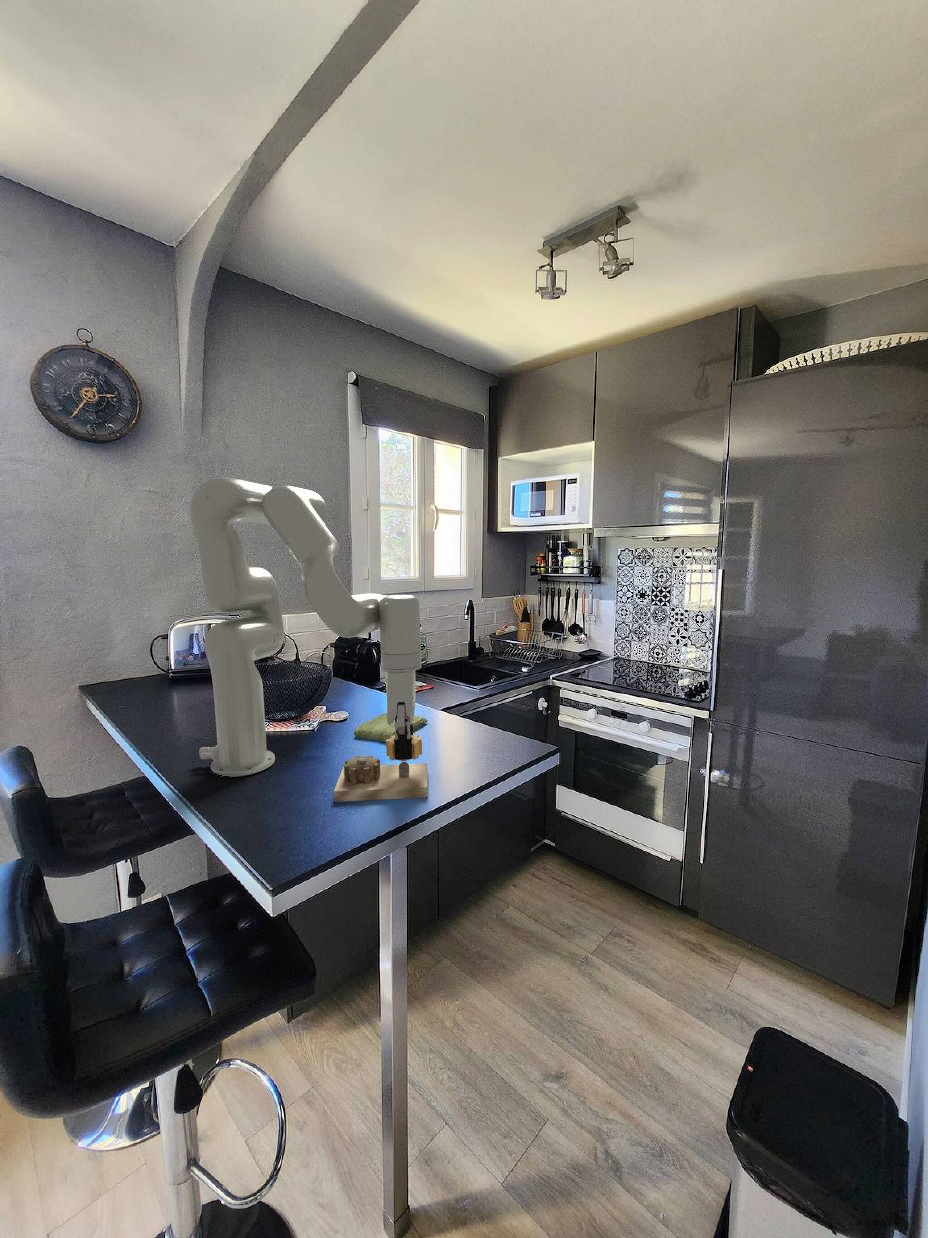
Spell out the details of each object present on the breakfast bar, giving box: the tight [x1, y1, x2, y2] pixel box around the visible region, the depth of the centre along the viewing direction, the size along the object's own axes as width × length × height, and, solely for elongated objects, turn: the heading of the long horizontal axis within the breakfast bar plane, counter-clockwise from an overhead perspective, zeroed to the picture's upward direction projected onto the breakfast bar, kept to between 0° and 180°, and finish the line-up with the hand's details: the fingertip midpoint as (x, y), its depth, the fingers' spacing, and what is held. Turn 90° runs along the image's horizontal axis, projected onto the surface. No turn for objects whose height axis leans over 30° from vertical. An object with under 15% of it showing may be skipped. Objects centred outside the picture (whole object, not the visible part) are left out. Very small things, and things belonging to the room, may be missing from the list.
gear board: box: [333, 755, 429, 803], centre depth 97 cm, size 17×11×6 cm, turn 94°
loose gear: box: [385, 733, 423, 763], centre depth 97 cm, size 7×7×3 cm
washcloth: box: [353, 712, 429, 743], centre depth 130 cm, size 13×18×3 cm
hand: (404, 750), depth 97 cm, fingers closed on loose gear, 6 cm apart
